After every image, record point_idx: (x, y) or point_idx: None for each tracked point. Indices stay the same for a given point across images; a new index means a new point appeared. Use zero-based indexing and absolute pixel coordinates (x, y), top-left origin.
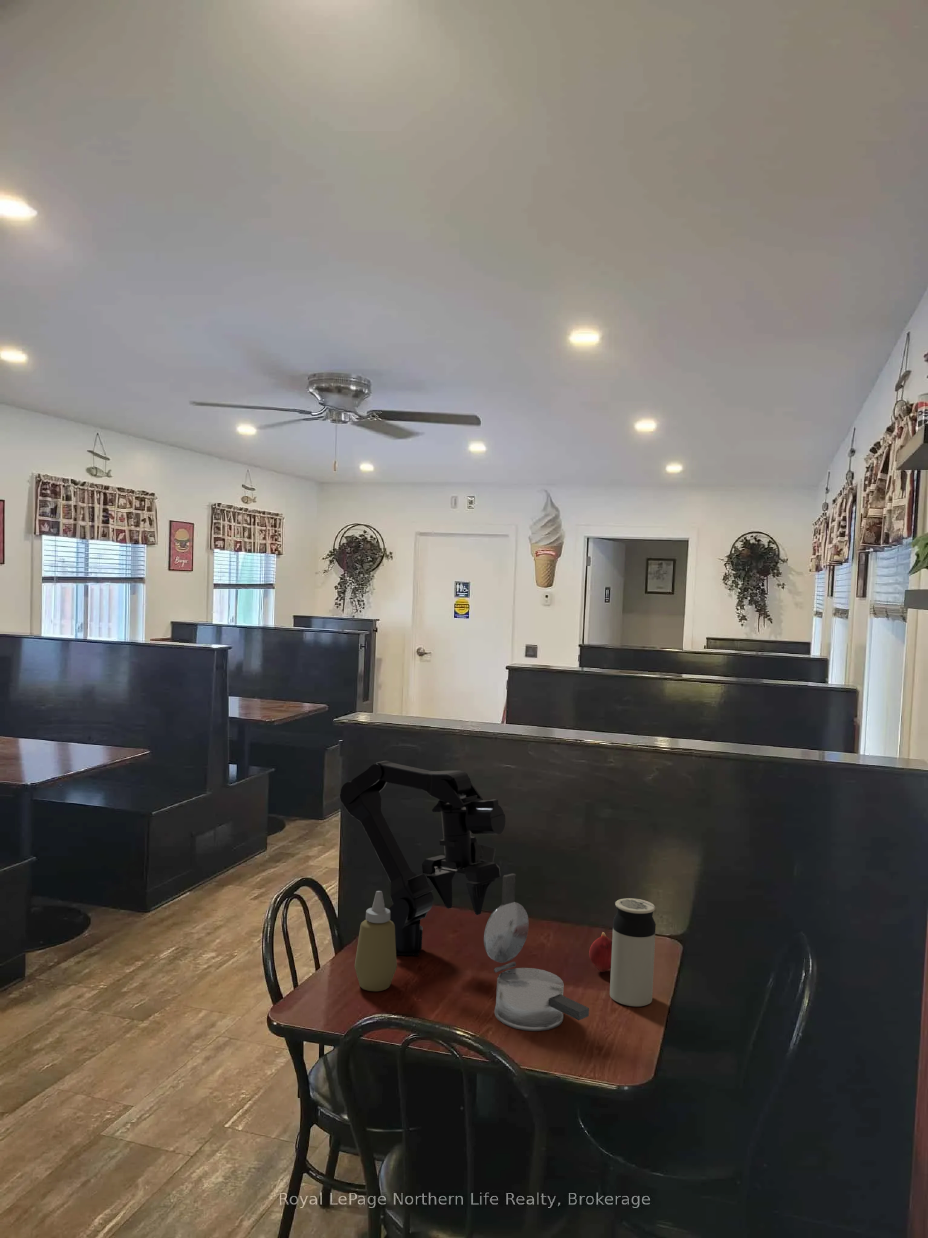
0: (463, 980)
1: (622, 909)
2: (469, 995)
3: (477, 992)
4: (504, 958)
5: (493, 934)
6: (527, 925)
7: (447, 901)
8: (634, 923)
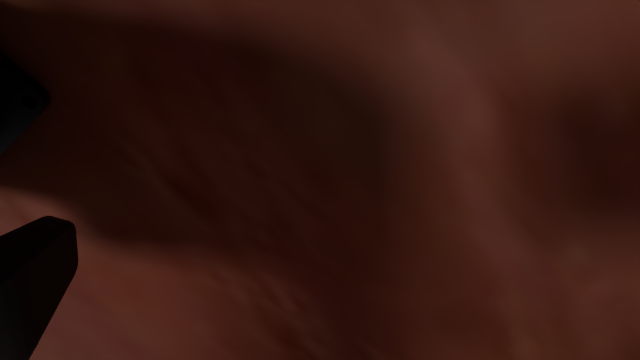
0: (475, 161)
1: None
2: (595, 262)
3: (617, 217)
4: None
5: None
6: None
7: (23, 342)
8: None
